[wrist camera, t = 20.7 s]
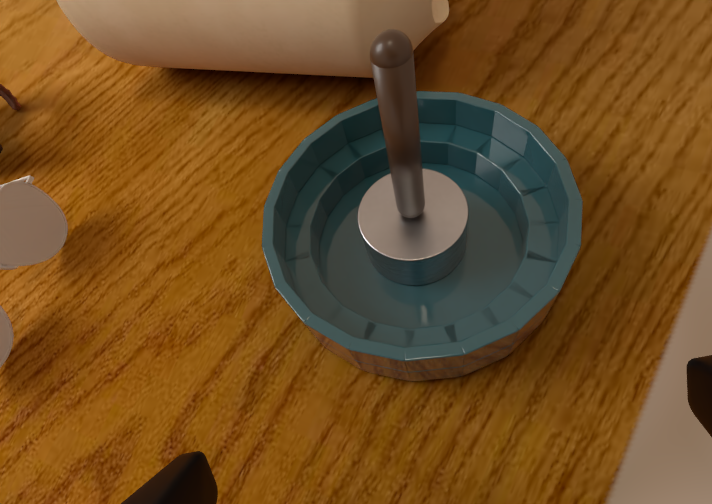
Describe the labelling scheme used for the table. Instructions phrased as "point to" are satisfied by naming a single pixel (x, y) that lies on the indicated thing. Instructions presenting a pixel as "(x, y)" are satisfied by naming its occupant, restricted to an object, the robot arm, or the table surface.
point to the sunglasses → (26, 236)
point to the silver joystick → (408, 182)
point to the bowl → (483, 247)
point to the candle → (251, 32)
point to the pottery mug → (9, 101)
